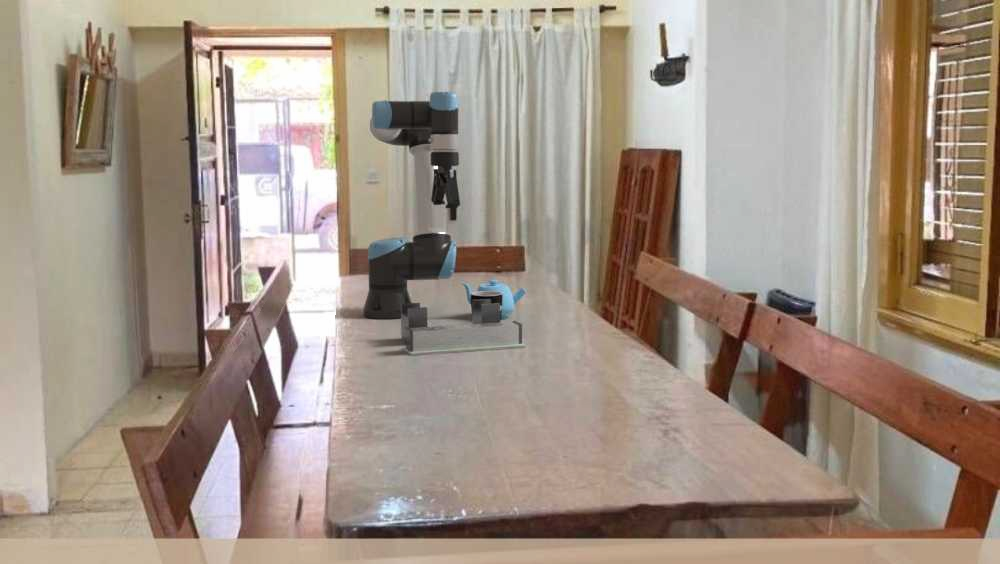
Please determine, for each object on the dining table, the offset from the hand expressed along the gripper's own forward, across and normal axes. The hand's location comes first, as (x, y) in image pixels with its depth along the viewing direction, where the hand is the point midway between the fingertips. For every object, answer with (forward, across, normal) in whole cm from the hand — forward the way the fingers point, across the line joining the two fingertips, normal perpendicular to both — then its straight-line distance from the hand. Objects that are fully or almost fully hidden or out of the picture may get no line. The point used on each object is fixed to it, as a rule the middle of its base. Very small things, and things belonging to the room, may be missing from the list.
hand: (445, 230), depth 270 cm
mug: (+29, -8, +14) cm, 33 cm away
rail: (+28, +17, 0) cm, 33 cm away
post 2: (+29, +4, +10) cm, 31 cm away
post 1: (+29, +4, -10) cm, 31 cm away
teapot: (+29, -23, +21) cm, 42 cm away
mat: (+29, +17, 0) cm, 33 cm away
